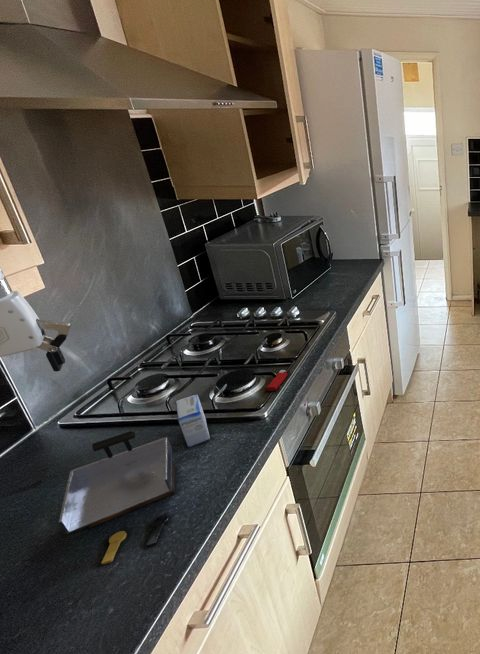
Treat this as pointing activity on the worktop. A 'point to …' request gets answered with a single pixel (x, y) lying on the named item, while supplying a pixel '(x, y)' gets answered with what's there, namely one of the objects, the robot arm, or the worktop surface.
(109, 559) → the brass key
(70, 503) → the steel dish
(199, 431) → the medicine box
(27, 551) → the worktop surface
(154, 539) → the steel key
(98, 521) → the stand
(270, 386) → the lighter
